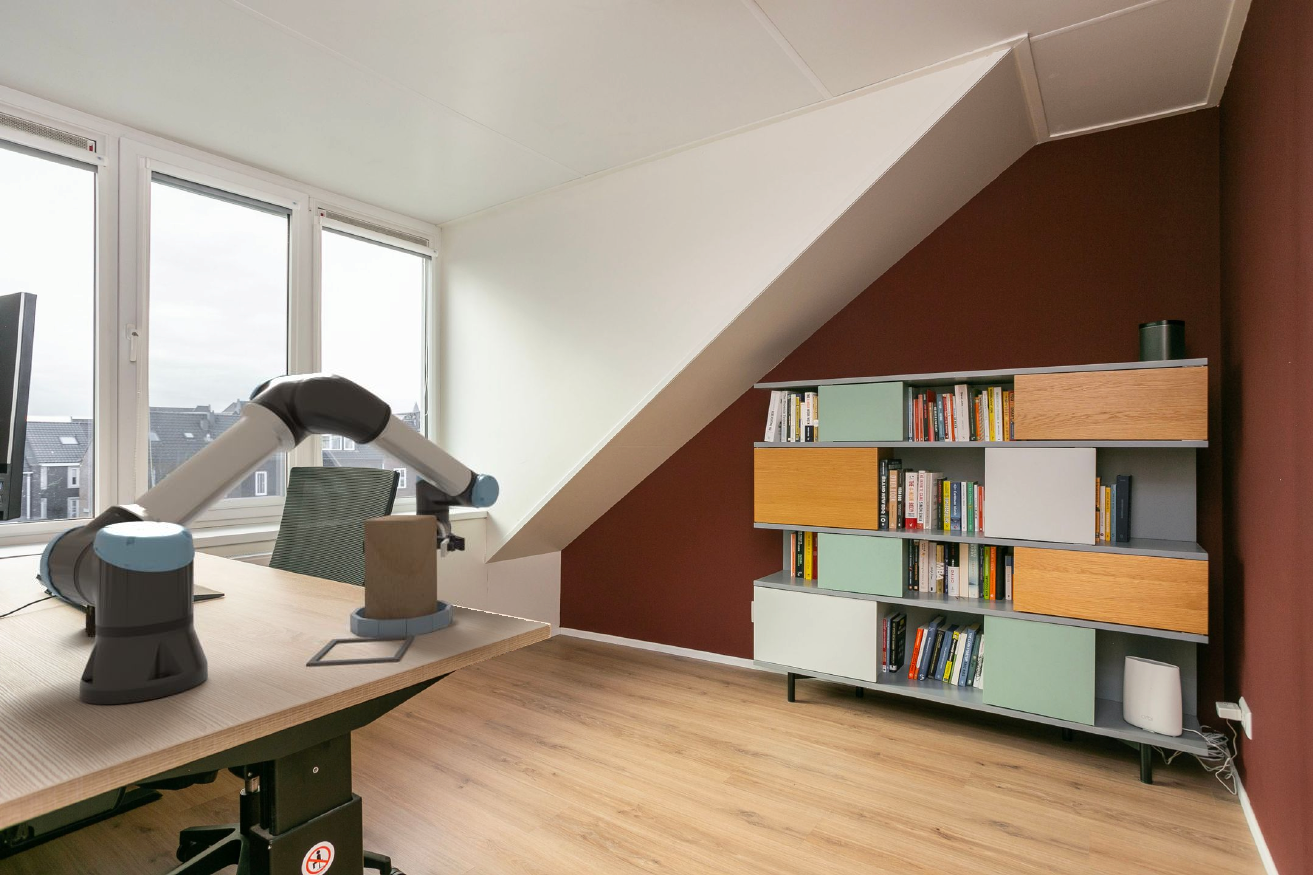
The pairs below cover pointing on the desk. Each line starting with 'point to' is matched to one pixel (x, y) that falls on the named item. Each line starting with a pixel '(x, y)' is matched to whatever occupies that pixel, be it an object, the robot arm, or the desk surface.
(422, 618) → the dish
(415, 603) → the wooden block
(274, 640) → the desk surface
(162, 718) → the desk surface
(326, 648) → the dark grey square frame
